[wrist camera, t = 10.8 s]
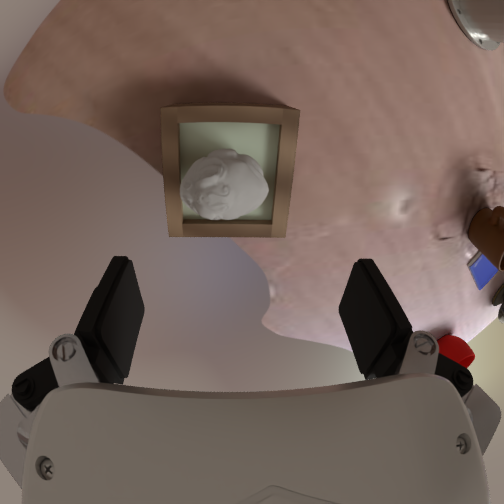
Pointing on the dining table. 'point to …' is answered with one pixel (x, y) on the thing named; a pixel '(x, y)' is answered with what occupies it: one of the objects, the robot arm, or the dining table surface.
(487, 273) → the hard drive
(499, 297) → the apothecary jar
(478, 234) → the mug
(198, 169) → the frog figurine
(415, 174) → the dining table surface
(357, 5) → the dining table surface
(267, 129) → the pedestal
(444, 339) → the ceramic cup
